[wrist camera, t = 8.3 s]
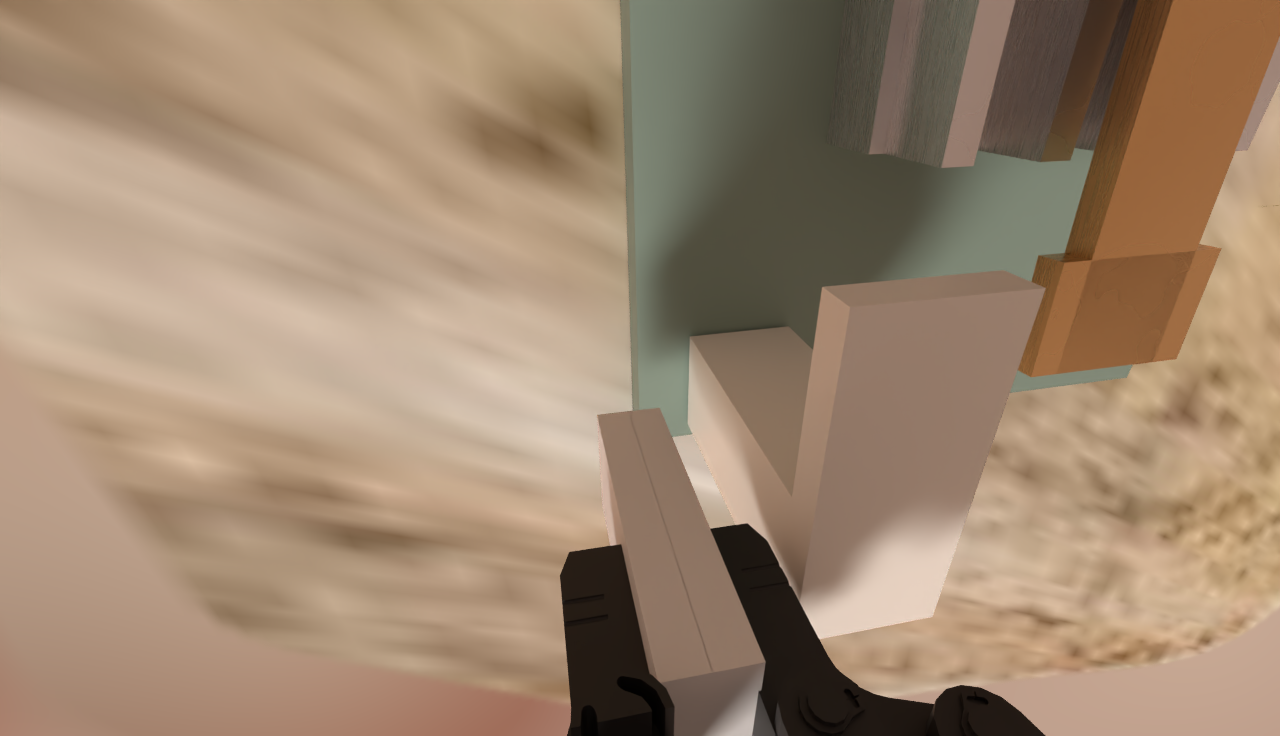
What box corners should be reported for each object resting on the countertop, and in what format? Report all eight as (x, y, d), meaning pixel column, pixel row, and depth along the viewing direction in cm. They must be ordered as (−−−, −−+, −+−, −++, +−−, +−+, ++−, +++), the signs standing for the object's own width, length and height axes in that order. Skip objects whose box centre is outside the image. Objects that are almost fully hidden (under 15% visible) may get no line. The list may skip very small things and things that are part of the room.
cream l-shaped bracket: (693, 192, 14) (849, 307, 8) (805, 185, 15) (1046, 288, 8) (687, 423, 18) (792, 644, 11) (778, 412, 18) (932, 616, 11)
